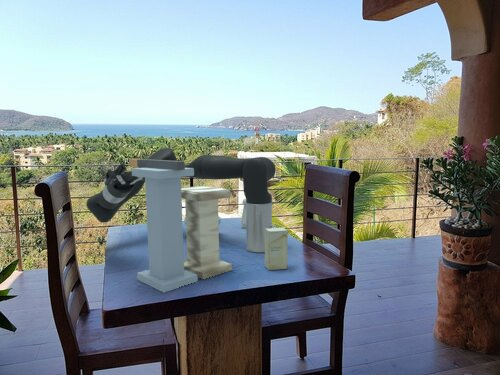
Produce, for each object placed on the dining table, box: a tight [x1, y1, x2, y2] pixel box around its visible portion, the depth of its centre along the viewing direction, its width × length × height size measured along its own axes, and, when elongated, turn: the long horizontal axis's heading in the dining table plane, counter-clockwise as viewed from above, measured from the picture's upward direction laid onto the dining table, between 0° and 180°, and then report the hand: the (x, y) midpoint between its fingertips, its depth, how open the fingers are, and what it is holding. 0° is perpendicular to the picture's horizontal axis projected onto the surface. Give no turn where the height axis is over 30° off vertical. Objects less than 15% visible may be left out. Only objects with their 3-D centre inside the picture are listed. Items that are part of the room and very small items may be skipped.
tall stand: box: [131, 167, 198, 294], centre depth 109 cm, size 14×11×32 cm
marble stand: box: [181, 185, 233, 280], centre depth 118 cm, size 14×11×25 cm
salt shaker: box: [240, 198, 246, 229], centre depth 174 cm, size 6×6×13 cm
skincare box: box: [264, 227, 289, 271], centre depth 120 cm, size 6×4×12 cm
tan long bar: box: [128, 158, 186, 170], centre depth 109 cm, size 26×2×2 cm, turn 44°
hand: (137, 165), depth 117 cm, fingers open, 8 cm apart
